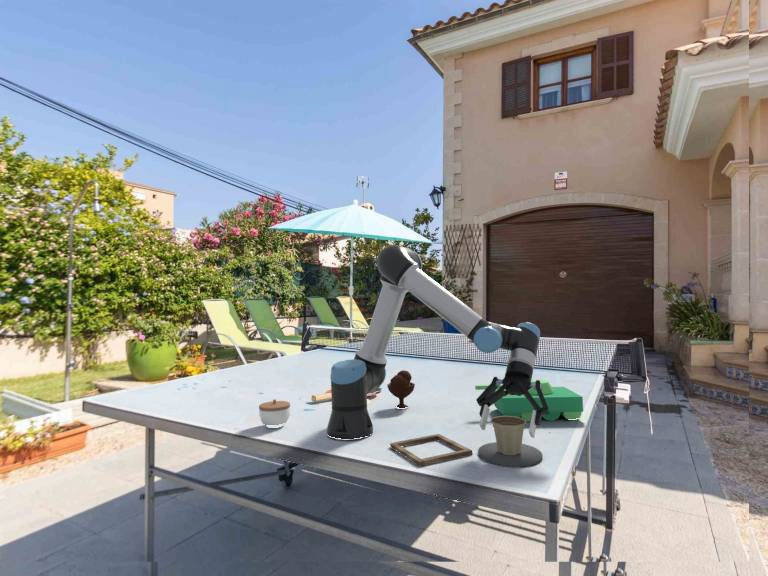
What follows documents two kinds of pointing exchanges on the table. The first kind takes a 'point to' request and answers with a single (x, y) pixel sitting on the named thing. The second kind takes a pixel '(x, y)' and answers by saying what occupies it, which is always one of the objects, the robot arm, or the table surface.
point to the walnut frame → (460, 453)
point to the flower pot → (508, 434)
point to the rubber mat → (523, 459)
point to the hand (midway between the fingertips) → (505, 431)
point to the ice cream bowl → (401, 386)
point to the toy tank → (555, 397)
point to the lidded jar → (274, 412)
